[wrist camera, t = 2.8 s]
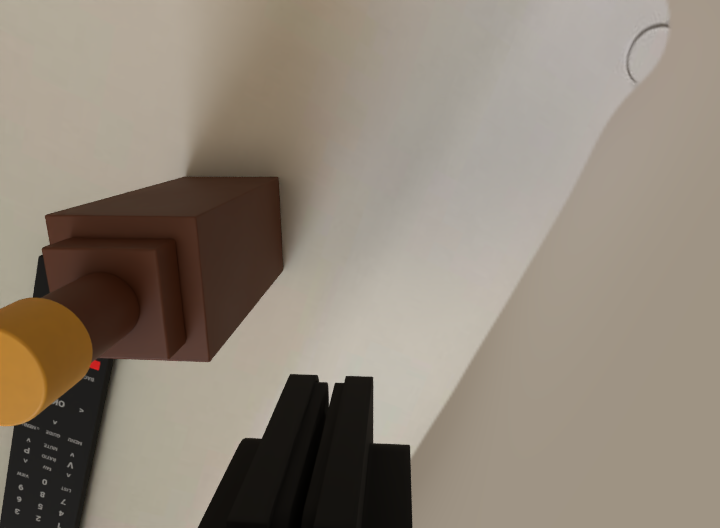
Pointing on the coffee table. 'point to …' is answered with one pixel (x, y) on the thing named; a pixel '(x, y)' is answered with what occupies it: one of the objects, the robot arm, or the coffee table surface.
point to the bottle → (140, 283)
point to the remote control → (55, 450)
